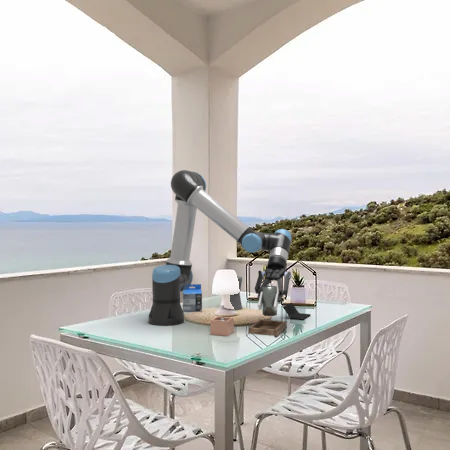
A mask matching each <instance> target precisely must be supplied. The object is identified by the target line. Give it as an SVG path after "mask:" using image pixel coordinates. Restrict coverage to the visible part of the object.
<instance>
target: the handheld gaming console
mask: <svg viewBox="0 0 450 450" xmlns="http://www.w3.org/2000/svg"><path fill="white" fill-rule="evenodd" d="M283 309H284V311H285V313H286V314H287V315H288V317H289V319H290V320H295V321H304V320H306V319H308V318H309V317H311V313H304V312H303V313H301V312H299V311H298V310H297V308H296V306H295V304H294V303H293V302H290V303H288V304H286V305H284V306H283Z"/></svg>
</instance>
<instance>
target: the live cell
mask: <svg viewBox="0 0 450 450" xmlns="http://www.w3.org/2000/svg"><path fill="white" fill-rule="evenodd" d="M276 293H278V285H273V284H271V283H269V284H267V286H263V303H262V316H265V317H275V316H277V315H278V309H277V310H275V309H274V302H275V297H276Z"/></svg>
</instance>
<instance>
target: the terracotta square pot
mask: <svg viewBox="0 0 450 450" xmlns="http://www.w3.org/2000/svg"><path fill="white" fill-rule="evenodd" d="M221 318H224V319H226V321H222V320H219V319H221ZM209 322H210V323H209V324H210V325H209V326H210V329H209V330H210V331H209V334H210V335H214V336H223V337H225V336H226V337H229V336H230V335H231V334H233V333H234V332H235V317H231V316H230V317H229V316H218V315H217V316H215V317H213V318H211V319H210V320H209Z"/></svg>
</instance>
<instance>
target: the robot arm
mask: <svg viewBox="0 0 450 450" xmlns="http://www.w3.org/2000/svg"><path fill="white" fill-rule="evenodd" d="M170 187H171V190H172V192H173V193H174V194H175V198H174V201H175V203H176V204H177V209H176V215H175V222H174V230H173V235H172V243H171V250H170V256H169V258H168V259H166V261H165V264H162V265H158V266H155V267H154V268H153V270H152V275H151V279H152V280H151V283H152V292H151V293H152V305H151V308H150V311H149V315H148V323H149V324H151V325H156V326H174V325H181V324H183V323H184V322H185V314H184V313H185V312H183V306H182V305H181V292H183V291H184V290H185V289H187V288H188V287H189V286H190V284H192V282H193V278H194V277H193V276H194V273H193V271H192V267H193V263H192V262H191V260H190V257H191V252H192V251H191V250H192V243H193V237H194V232H195V231H194V229H195V223H196V216H197V210H199V212H201V213H202V214H203V215H205V216H206V217H207V218H208V219H209V220H211V221H212V222H213V223H214V224H216V225H217V226H218V227H219V228H220V229H222V230H223V231H224V232H225V233H227V234H228V235H229V236H230V237H232V239H233V240H235V241H236V242H237V243H239V244H240V245H241V246H242V248H243V250H245V252H247V253H250V254H251V253H257V252H258V251H267V252H270V253H269V257H268V261H267V265H266V269H265V270H264V271H261V270H258V272H257V274H258V277H257V280H256V282H255V287H254V291H255V294H256V295H257V296H256V299H257V301H258V302H257V307H258V310H262V309H263V286H267V284H271V282H272V281H276V282H277V293H276V297H275V302H274V309H275V310H277V311H278V307H279V303H281V302H282V300H283V299H282V298H283V296H287V295H288V294H289V286H290V281H291V278H292V273H291V271H288V272H287V271H286V267H287V262H288V257H289V253H290V249H291V244H292V238H293V237H292V233H291V232H290V231H289V230H287V229H284V228H280V229H277V230H276V231H275V232H274V233H268V232H260V231H255V230H253V229H251V228H250V227H249V226H248V225H247V224H246V223H244V222H243V221H242V220H241V219H239V218H238V217H237V216H236V215H235V214H233V213H232V212H231V211H230V210H228V209H227V208H226V207H225V206H224V205H223V204H221V203H220V202H219V201H217V200H216V199H215V198H214V197H213V196H211V195H210V194H209V193H208V192H206V191H207V190H206V188H207V183H206V179H205V178H204V177H203V176H202V175H201V174H200V173H198V172H195V171H191V170H186V169H182V170H179V171H177V172H176V173H174V175H172V177H171V180H170ZM264 277H265V279H264V281H263V278H264ZM283 277H284V278H285V279H284V283H283V284H284V285H283V288H282V280H281V279H282V278H283ZM189 288H190V287H189Z"/></svg>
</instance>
